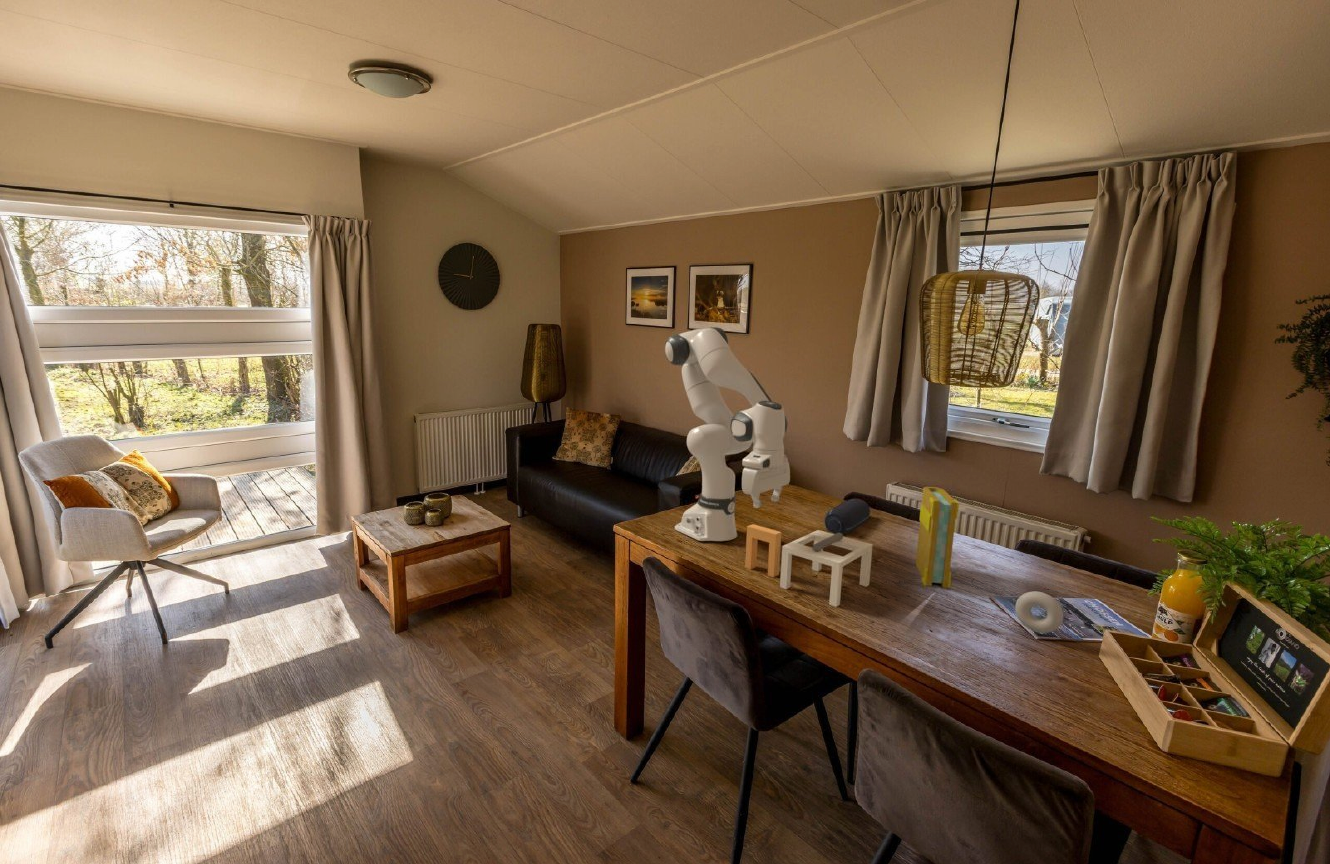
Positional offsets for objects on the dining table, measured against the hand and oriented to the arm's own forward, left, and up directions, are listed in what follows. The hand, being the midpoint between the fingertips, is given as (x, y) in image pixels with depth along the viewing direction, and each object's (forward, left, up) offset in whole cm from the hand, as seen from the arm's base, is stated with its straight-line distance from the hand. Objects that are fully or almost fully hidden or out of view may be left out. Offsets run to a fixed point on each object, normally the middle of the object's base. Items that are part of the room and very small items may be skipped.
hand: (766, 504), depth 173 cm
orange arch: (0, 0, -21) cm, 21 cm away
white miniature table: (+18, +4, -21) cm, 28 cm away
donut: (+67, +17, -21) cm, 73 cm away
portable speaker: (0, +56, -21) cm, 59 cm away
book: (+37, +34, -21) cm, 54 cm away
